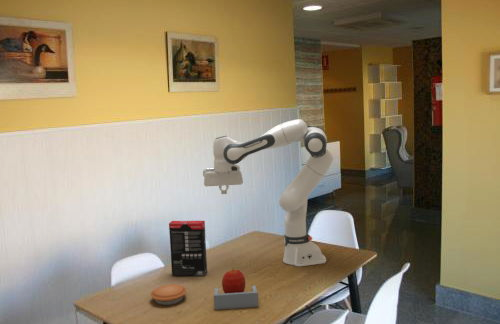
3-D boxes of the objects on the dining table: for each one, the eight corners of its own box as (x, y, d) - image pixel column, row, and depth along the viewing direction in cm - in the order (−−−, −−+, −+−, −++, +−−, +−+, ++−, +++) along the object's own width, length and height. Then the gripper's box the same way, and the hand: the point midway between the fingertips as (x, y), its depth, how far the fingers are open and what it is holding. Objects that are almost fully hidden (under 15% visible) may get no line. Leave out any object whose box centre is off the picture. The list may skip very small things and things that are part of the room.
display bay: (255, 291, 206) (255, 278, 205) (258, 306, 191) (257, 292, 190) (215, 294, 205) (214, 281, 204) (214, 309, 190) (213, 295, 189)
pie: (171, 289, 213) (170, 279, 212) (194, 297, 203) (193, 286, 203) (143, 301, 201) (142, 290, 201) (167, 310, 191) (166, 299, 191)
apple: (236, 292, 206) (234, 262, 205) (251, 298, 199) (249, 267, 197) (217, 299, 200) (216, 268, 198) (232, 306, 192) (230, 274, 191)
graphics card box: (208, 271, 234) (205, 219, 231) (205, 276, 227) (202, 222, 224) (175, 272, 236) (171, 219, 232) (171, 277, 229) (167, 223, 225)
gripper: (202, 169, 236) (203, 196, 238) (242, 167, 237) (243, 193, 239) (202, 167, 242) (204, 193, 244) (241, 165, 244) (243, 191, 245)
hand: (224, 193), depth 242 cm, fingers closed
